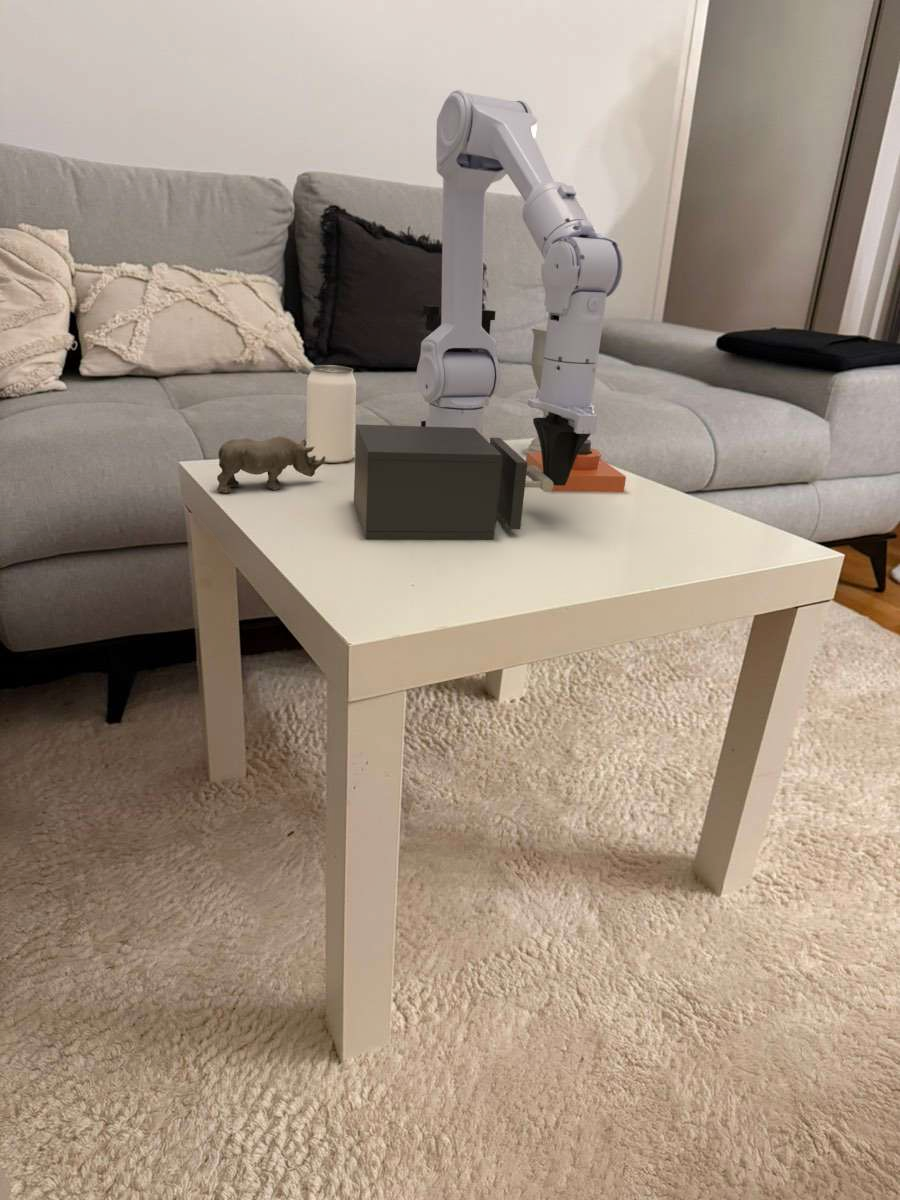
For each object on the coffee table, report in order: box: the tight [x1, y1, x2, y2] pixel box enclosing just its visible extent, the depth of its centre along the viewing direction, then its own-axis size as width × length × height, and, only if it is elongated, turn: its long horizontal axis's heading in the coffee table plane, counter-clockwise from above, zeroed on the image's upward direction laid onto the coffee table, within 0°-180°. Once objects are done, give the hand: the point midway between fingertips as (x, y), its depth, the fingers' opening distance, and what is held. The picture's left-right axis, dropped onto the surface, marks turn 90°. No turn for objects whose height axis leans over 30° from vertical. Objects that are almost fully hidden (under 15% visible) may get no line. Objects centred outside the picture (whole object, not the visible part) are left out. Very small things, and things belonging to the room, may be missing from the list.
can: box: [306, 364, 357, 464], centre depth 114 cm, size 6×6×12 cm
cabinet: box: [353, 423, 502, 540], centre depth 92 cm, size 14×13×9 cm
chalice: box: [525, 326, 548, 454], centre depth 124 cm, size 7×7×18 cm
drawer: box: [489, 437, 554, 530], centre depth 94 cm, size 17×11×7 cm
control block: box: [525, 447, 627, 493], centre depth 115 cm, size 12×10×4 cm
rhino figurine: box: [216, 436, 325, 494], centre depth 101 cm, size 4×14×6 cm, turn 120°
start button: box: [578, 439, 592, 455], centre depth 114 cm, size 4×4×2 cm
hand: (554, 483), depth 96 cm, fingers closed, pressing on drawer
